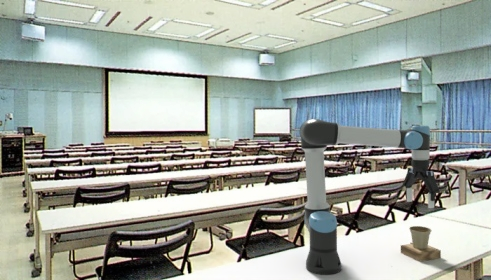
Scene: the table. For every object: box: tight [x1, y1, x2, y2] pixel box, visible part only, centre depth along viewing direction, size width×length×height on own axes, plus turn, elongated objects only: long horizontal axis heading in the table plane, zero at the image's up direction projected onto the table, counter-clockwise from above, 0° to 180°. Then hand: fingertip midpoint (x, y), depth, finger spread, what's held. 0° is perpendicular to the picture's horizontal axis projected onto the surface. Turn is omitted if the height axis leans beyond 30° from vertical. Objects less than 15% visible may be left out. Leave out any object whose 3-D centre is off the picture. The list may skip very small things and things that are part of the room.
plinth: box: [400, 243, 442, 262], centre depth 177 cm, size 12×12×4 cm
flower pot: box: [408, 225, 432, 249], centre depth 177 cm, size 9×9×9 cm
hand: (419, 204), depth 176 cm, fingers open, 13 cm apart
